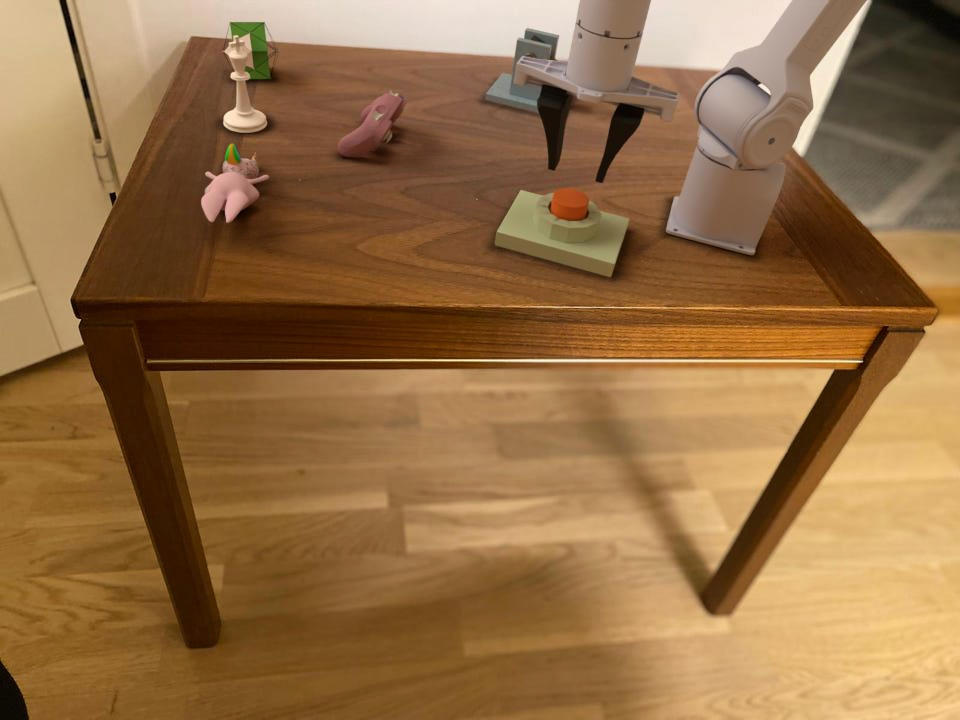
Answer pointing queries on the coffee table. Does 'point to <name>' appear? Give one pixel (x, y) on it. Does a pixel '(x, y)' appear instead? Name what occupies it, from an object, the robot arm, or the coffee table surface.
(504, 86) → the switch bracket
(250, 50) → the geometric puzzle
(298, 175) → the coffee table surface
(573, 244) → the button block
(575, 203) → the button
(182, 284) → the coffee table surface
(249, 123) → the chess piece
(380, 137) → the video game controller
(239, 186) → the pink plush unicorn
